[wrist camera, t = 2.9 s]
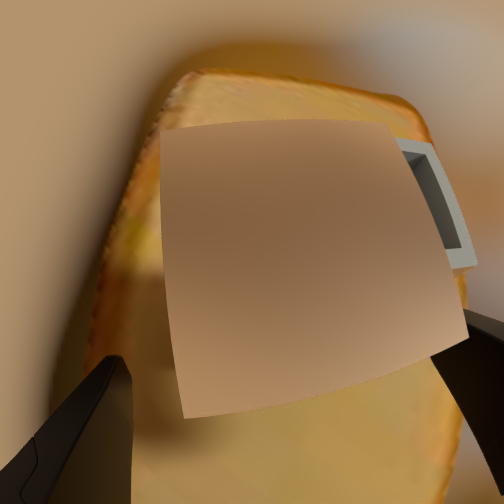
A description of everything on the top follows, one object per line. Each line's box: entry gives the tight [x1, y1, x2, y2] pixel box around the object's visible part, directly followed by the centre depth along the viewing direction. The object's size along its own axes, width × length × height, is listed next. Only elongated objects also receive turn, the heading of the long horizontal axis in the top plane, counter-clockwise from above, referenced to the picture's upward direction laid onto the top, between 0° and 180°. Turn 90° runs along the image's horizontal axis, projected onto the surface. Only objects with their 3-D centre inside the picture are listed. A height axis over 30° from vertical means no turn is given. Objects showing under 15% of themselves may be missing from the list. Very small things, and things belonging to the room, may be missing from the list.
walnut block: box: [160, 120, 469, 419], centre depth 10 cm, size 4×4×13 cm
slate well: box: [394, 137, 478, 278], centre depth 17 cm, size 9×9×5 cm
